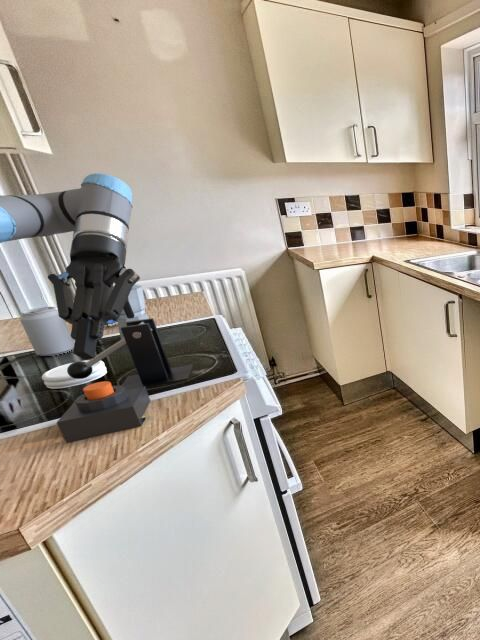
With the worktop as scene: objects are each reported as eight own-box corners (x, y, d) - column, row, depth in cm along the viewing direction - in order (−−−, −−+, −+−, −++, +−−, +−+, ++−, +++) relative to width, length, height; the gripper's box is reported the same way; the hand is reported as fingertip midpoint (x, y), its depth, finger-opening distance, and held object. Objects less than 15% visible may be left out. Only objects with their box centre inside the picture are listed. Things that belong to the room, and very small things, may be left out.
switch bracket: (118, 397, 86) (92, 334, 81) (130, 380, 94) (106, 322, 89) (189, 383, 92) (168, 323, 87) (194, 368, 99) (176, 312, 94)
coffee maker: (119, 335, 123) (95, 275, 117) (157, 328, 128) (136, 270, 122) (119, 349, 113) (93, 283, 106) (160, 340, 118) (138, 277, 111)
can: (40, 352, 112) (19, 309, 108) (78, 345, 117) (60, 303, 112) (35, 360, 107) (13, 315, 102) (75, 352, 111) (56, 309, 107)
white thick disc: (105, 368, 100) (99, 355, 99) (112, 380, 94) (106, 366, 93) (45, 384, 93) (38, 369, 92) (49, 397, 87) (42, 382, 86)
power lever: (76, 385, 85) (58, 372, 83) (83, 378, 88) (65, 366, 86) (152, 335, 88) (136, 322, 86) (156, 330, 91) (140, 318, 89)
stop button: (84, 402, 73) (79, 392, 72) (91, 394, 76) (86, 384, 75) (111, 397, 74) (106, 387, 74) (117, 389, 77) (112, 379, 76)
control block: (66, 443, 71) (51, 412, 69) (85, 419, 78) (72, 390, 76) (141, 426, 75) (129, 397, 73) (152, 405, 83) (141, 377, 81)
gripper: (151, 254, 86) (141, 358, 78) (71, 259, 83) (52, 369, 74) (129, 230, 80) (116, 341, 71) (42, 234, 76) (17, 352, 67)
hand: (84, 355), depth 72 cm, fingers closed
